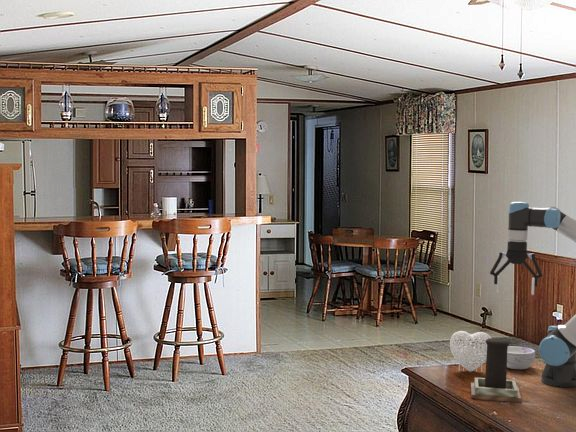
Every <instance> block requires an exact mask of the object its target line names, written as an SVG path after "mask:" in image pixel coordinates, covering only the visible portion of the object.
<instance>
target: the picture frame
mask: <svg viewBox="0 0 576 432" xmlns="http://www.w3.org/2000/svg"><path fill="white" fill-rule="evenodd" d="M470 391H471V392H470V394H471V395H470V396H471V398H474V399H475V400H484V401H498V402H510V403H511V402H513V403H522V397H521V393H520V389H519V386H518V385H517V383H516V380H512V379H506V389H500V388H487V387H485V377H474V382H470ZM474 399H473V400H474Z"/></svg>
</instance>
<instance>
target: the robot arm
mask: <svg viewBox="0 0 576 432" xmlns="http://www.w3.org/2000/svg"><path fill="white" fill-rule="evenodd" d="M508 208H509V210H508V225H507V226H508V229H507V239H508V241H507V247H506V249H507V250H506V252H502V251H499V252H498V257H497V259H496V261H495V262H494V264H493V266H492V268H491V269H490V272H489V274H490V275H491V276H493V278H494V279H493V283H494V285H496V294H499V292H500V276H499V275H500V274H501V273H502V272H503V271H504V270H505V269H506V268H507V267H508V265H510V264H511V265H517V264H518V265H521V264H523V265H524V267H526V269H527V270H528V272H529V273H530V274H531V275H532V276H533V277H532V278H531V295H532V296H534V295H535V287H538V279H539V278H542V277H543V274H542V270H541V269H540V267H539V265H538V262H537V260H536V254H535V253H533V252H532V253H528V252H527V251H528V242H527V241H528V235H529V234H528V229H529V227H535V228H536V227H537V228H547V229H552V230H555V232H558V233H560V234H561V235H563V236H565V237H566V238H568V239H570V240H571V241H573V242H574V243H576V219H574V218H572V217H570V216H569V215H567V214H566V213H564V212H563V211H561V210H560V209H559V208H558V207H555V206H548V207H530V203H529V202H525V201H512V202H510V204H509V207H508ZM505 257H506V258H507V260H506V261H505V262H504V263H503V264H502V265H501V266H499V264H500V263H501V261H502V259H503V258H505ZM528 258H529V259H530V260H531V261H532V264H533V265H534V269H535V270H536V272H537V274H536V273H535V271H534V270H533V269H532V267H531V266H530V265H529V263H528V262H527V261H526V259H528ZM498 266H499V267H500V268H499V269H497V268H498ZM496 269H497V270H496ZM546 332H547V336H546V337H544V338H543V339H542V340H540V343H539V346H538V354H539V356H540V358H541V360H542V361H544V363H545V366H544V369H543V371H542V373H541V379H540V381H541V382H542V383H544V384H546V385H548V386H552V387H559V386H560V387H561V388H575V386H576V313H575V314H574V315H573V316H572V317H571V318H570V319H569V320H568V321H567V322H565V324H558V325H549V326H548V329H547V331H546Z"/></svg>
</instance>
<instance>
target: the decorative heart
mask: <svg viewBox="0 0 576 432" xmlns="http://www.w3.org/2000/svg"><path fill="white" fill-rule="evenodd" d="M489 338H492V337H491V336H490V334H488V333H487V332H483V331H478V332H474V333H469V332H468V331H464V330H458V331H456V332H454V333H452V334H451V337H450V338H449V339H450V340H449V349H450V352H451V354H452V356H453V357H454V360H456V363H458V372H460V371H461V366H462V372H465V370H467V371H468V372H469V373H471V372H473V371H474V370H475V372H478V368H480V373H483V365H484V363H486V356H487V344H486V340H487V339H489Z"/></svg>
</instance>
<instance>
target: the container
mask: <svg viewBox="0 0 576 432" xmlns="http://www.w3.org/2000/svg"><path fill="white" fill-rule="evenodd" d="M485 342H486V344H487V356H486V361H485V374H484V376H485V377H484V378H485V387H487V388H500V389H506V380H507V372H508V371H507V370H508V368H507V350H508V346H509V345H510V341H509V340H507V339H505V338H500V337H499V338H498V337H491V338H489V339H487V340H486V341H485ZM486 344H485V345H486Z"/></svg>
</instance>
